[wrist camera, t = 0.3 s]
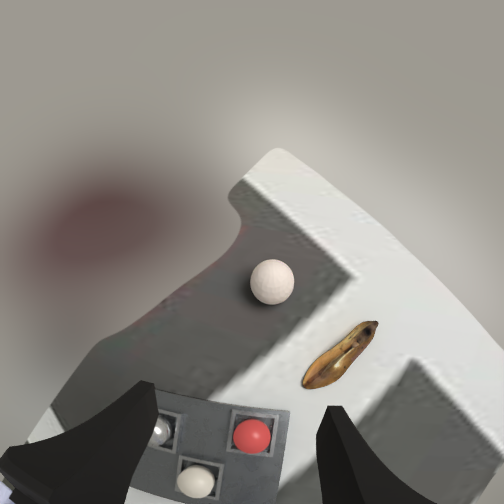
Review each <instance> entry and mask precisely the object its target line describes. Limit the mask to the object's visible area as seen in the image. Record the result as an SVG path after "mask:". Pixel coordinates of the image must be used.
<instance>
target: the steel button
mask: <svg viewBox="0 0 504 504" xmlns="http://www.w3.org/2000/svg"><path fill="white" fill-rule="evenodd" d="M171 436H172V427H171V424H170V422H169V421H168V420H167V419H166V418H165V417H163V416H161V415H159V416H158V419H157V422H156V426H155V428H154V431H153V434H152V436H151V438H150V441H149V443H148V445H147V446H149V447H157V446H160V445H162V444H164V443H166V442H167V441H169V440H170V438H171Z"/></svg>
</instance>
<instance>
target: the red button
mask: <svg viewBox="0 0 504 504" xmlns="http://www.w3.org/2000/svg"><path fill="white" fill-rule="evenodd" d="M270 438H271V437H270V431H269V428H268V426H267V425H266V424H265V423H264V422H263V421H261V420H258V419H247V420H244V421H242V422H241V423H240V424H239V425H238V426H237V428H236V429H235V431H234V434H233V440H234V443H235V445H236V446H237V448H238V449H240V450H241V451H243V452H245V453H249V454H255V453H259V452H261V451H263V450H264V449H266V448H267V446H268V445H269V443H270Z"/></svg>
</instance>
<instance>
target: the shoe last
mask: <svg viewBox="0 0 504 504" xmlns="http://www.w3.org/2000/svg"><path fill="white" fill-rule="evenodd" d="M377 326H378V322H377V321H366V322H363V323H361V324H359V325H358V326H357V327H356V328H355V329H354V330H353V331H352V332H351V333H350V334H349V335H348V336H347V337H346V338H345V339H344V340H343V341H341V342H340V343H339V344H337V345H336V346H335V347H333V348H332V349H331V350H329V351H327V352H326V353H324V354H323V355H321V356H320V357H319V358H318V359H317V360H316V361H315V362H314V363H313V364H312V365H311V367H310V368H309V369H308V371H307V373H306V375H305V377H304V380H303V386H304V387H305V388H306V389H316V388H320V387H324V386H327V385H329V384H331V383H333V382H335V381H336V380H338V379H339V378H340V377H341V376H342V375H343V374H344V373H345V372H346V370H347V369H348V368H349V366H350V365H351V364H352V362H353V361H354V360H355V359H356V358H357V357H358V356H359V355H360V354H361V353H362V352H363V350H364V349H365V348H366V347H367V346H368V344H369V343H370V342H371V340H372V339H373V337H374V334H375V330H376V328H377Z"/></svg>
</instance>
